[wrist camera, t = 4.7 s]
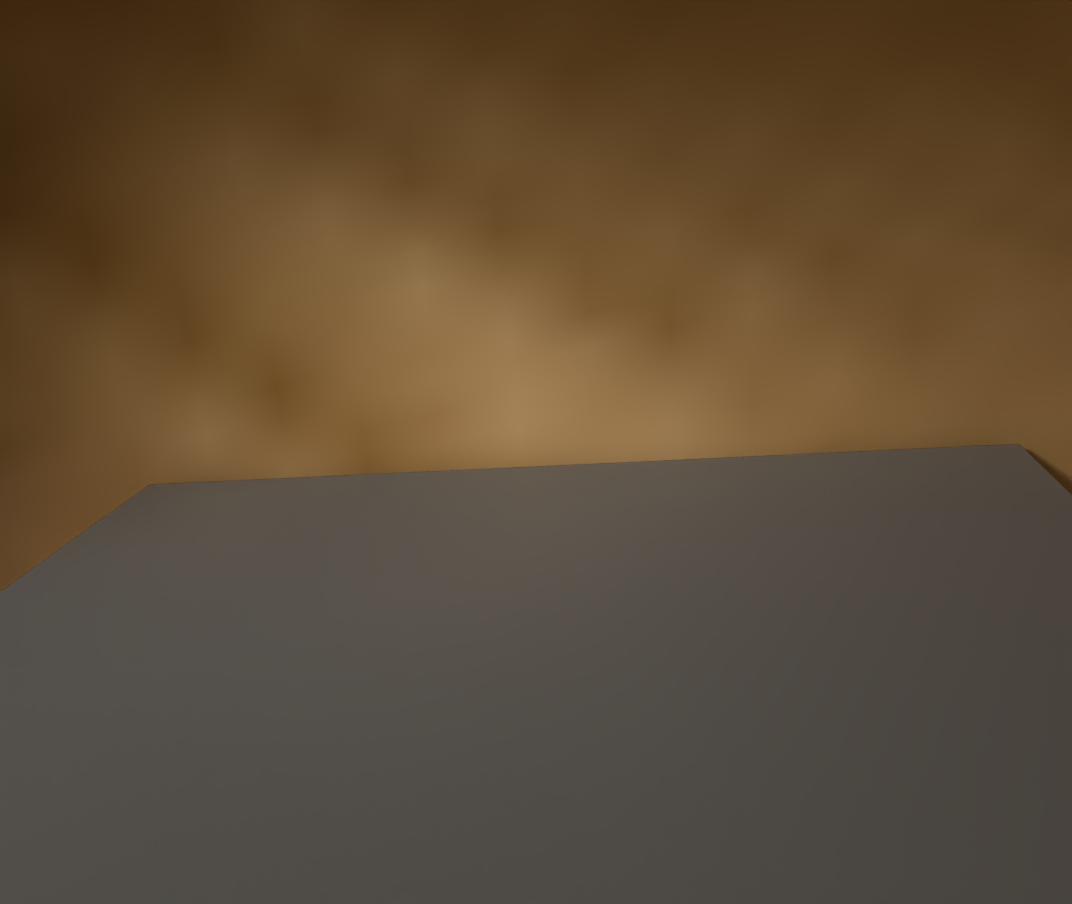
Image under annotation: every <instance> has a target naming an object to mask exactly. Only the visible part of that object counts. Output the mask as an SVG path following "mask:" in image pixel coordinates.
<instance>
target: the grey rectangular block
mask: <svg viewBox="0 0 1072 904" xmlns="http://www.w3.org/2000/svg"><path fill="white" fill-rule="evenodd" d="M0 904H1072V495H1071V494H1070V493H1069V492H1068V491H1067V490H1066V489H1065V488H1064V487H1063V486H1062V485H1061V484H1060V483H1059V482H1058V481H1057V480H1056V479H1055V478H1054V477H1053V476H1052V475H1051V474H1050V473H1049V472H1048V471H1046V470H1045V469H1044V468H1043V467H1042V466H1041V465H1040V464H1039V463H1038V462H1037V461H1036V460H1035V459H1034V458H1033V457H1032V456H1031V455H1030V454H1029V453H1028V452H1027V451H1026V450H1025V449H1024V448H1023V447H1022V446H1021V445H1020V444H1006V445H985V446H964V447H942V448H921V449H899V450H878V451H857V452H835V453H814V454H792V455H771V456H750V457H728V458H707V459H685V460H664V461H643V462H621V463H600V464H578V465H557V466H536V467H514V468H493V469H471V470H450V471H429V472H407V473H386V474H364V475H343V476H322V477H300V478H279V479H257V480H236V481H215V482H193V483H172V484H150V485H148V486H147V487H146V488H144V489H143V490H141V491H140V492H139V493H137V494H136V495H134V496H133V497H132V498H130V499H129V500H127V501H126V502H125V503H123V504H122V505H120V506H119V507H118V508H116V509H115V510H114V511H112V512H111V513H109V514H108V515H107V516H105V517H104V518H102V519H101V520H100V521H98V522H97V523H95V524H94V525H93V526H91V527H90V528H88V529H87V530H86V531H84V532H83V533H82V534H80V535H79V536H77V537H76V538H75V539H73V540H72V541H70V542H69V543H68V544H66V545H65V546H63V547H62V548H61V549H59V550H58V551H56V552H55V553H54V554H52V555H51V556H50V557H48V558H47V559H45V560H44V561H43V562H41V563H40V564H38V565H37V566H36V567H34V568H33V569H31V570H30V571H29V572H27V573H26V574H24V575H23V576H22V577H20V578H19V579H18V580H16V581H15V582H13V583H12V584H11V585H9V586H8V587H6V588H5V589H4V590H2V591H1V592H0Z"/></svg>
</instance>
